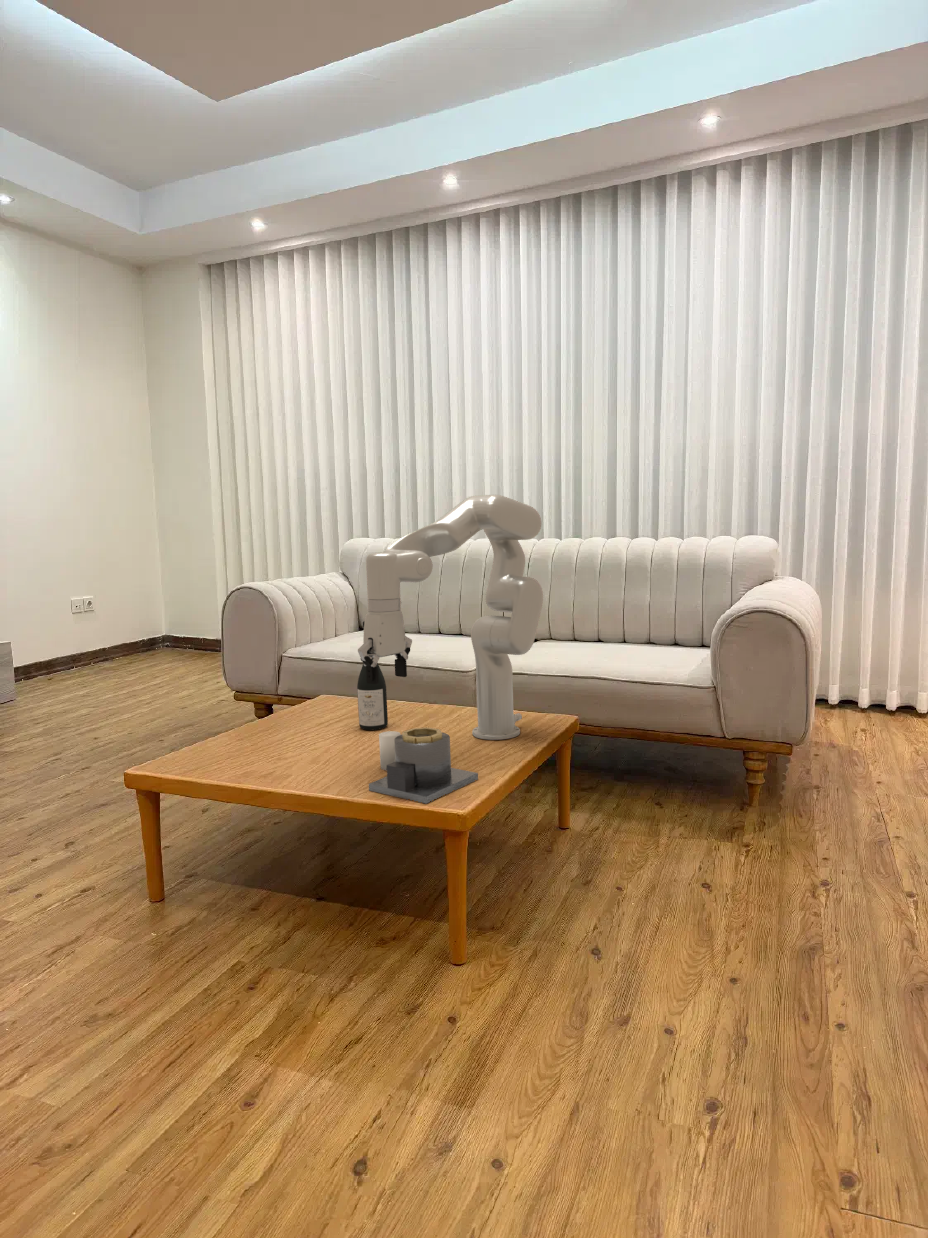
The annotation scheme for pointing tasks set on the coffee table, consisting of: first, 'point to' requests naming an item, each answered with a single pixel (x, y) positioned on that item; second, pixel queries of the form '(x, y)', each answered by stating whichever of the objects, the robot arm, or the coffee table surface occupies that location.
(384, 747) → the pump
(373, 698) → the wine bottle
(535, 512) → the robot arm
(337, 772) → the coffee table surface
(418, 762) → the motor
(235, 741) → the coffee table surface
